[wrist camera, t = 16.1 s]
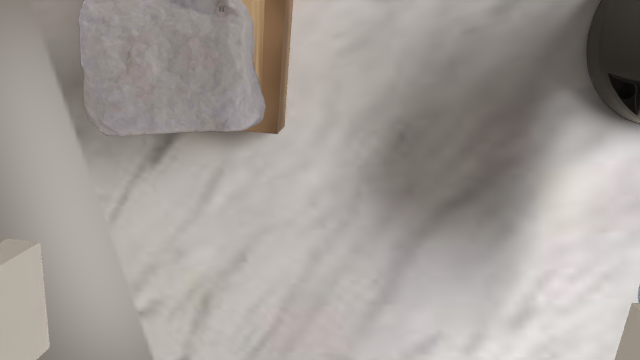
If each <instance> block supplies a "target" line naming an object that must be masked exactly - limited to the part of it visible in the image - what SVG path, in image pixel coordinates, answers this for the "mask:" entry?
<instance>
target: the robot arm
mask: <svg viewBox="0 0 640 360" xmlns="http://www.w3.org/2000/svg"><path fill="white" fill-rule="evenodd" d="M587 63H588V69H589V73H590V77H591V80H592V82H593V85H594V87H595V89H596V91H597V92H598V94H599V96H600V97H601V98H602V100H603V101H604V102H605V103H606V104H607V105H608V106H609V107H610V108H611V109H612V110H613V111H615V112H616V113H617V114H619V115H621V116H622V117H624V118H626V119H628V120H630V121H633V122H636V123H639V124H640V0H602V1H601V3H600V5H599V7H598V9H597V11H596V13H595V15H594V18H593V21H592V23H591V27H590V31H589V35H588V42H587ZM638 303H639V304H638ZM638 303H632V304H631V308H630V311H629V314H628V318H627V321H626V324H625V327H624V331H623V334H622V337H621V341H620V344H619V347H618V351H617V354H616V357H615V360H640V286H639V290H638ZM49 347H50V344H49V333H48V322H47V312H46V301H45V290H44V279H43V268H42V258H41V247H40V242H33V241H24V240H14V239H6V240H4V241H2V242H0V360H37V359H38V358H39V357H40V356H41V355H42V354H43V353H44V352H45V351H46V350H47V349H48V348H49Z"/></svg>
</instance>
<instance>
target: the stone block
mask: <svg viewBox="0 0 640 360" xmlns="http://www.w3.org/2000/svg"><path fill="white" fill-rule="evenodd" d="M79 30H80V57H81V60H80V63H81V66H82V70H83V75H84V82H83V99H84V107H85V110H86V113H87V117H88V119H89V120H90V121H91V122H92V124H93V125H95V126H97V128H98V130H99V131H100V132H102V133H103V134H105V135H106V136H109V135H149V134H165V133H177V132H196V131H218V132H227V131H240V130H245V129H248V128H251V127H253V126H256V125H257V124H259V123H260V122H261V121H262V120H263V117H264V112H265V107H266V105H265V101H264V97H263V94H262V92H261V87H260V83H259V79H258V76H257V74H256V71H255V67H254V62H253V58H254V46H255V42H254V23H253V19H252V18H251V17H250V15H249V12H248V9H247V8H246V6H245V5H244V4H243V3H242V2H241V1H240V0H84V2H83V4H82V8H81V10H80V14H79Z"/></svg>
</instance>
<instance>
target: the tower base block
mask: <svg viewBox="0 0 640 360" xmlns="http://www.w3.org/2000/svg"><path fill="white" fill-rule="evenodd" d="M292 7H293V0H265V4H264V33H263V63H262V94H263V97H264V101H265V105H266V107H265V112H264V117H263V120H262V121H261V122H260V123H259V124H257V125H256V126H253V127H251V128H248V129H245V130H243V131H253V132H263V133H273V134H278V133H279V131H280V130H281V129H282V128H283V127H284V125H285V110H286V95H287V81H288V66H289V51H290V36H291V22H292Z"/></svg>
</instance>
